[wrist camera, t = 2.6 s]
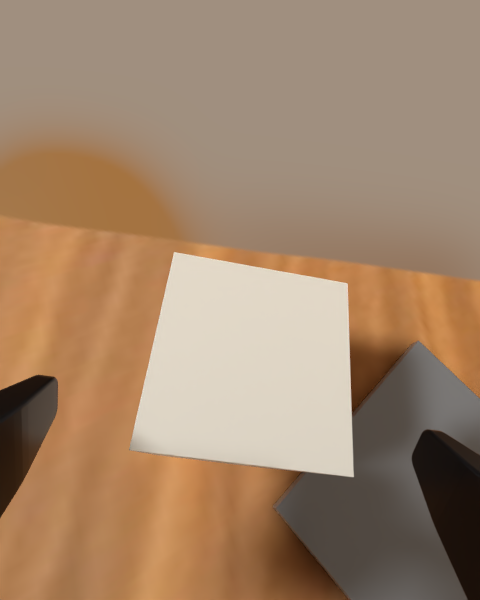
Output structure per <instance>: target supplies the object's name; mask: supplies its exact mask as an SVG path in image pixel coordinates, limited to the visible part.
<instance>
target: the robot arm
mask: <svg viewBox="0 0 480 600" xmlns="http://www.w3.org/2000/svg"><path fill="white" fill-rule="evenodd" d="M57 406H58V381H57V379H56V378H55V377H52V376H44V375H36V376H33V377H31V378H28V379H26V380H24V381H21V382H19V383H16V384H14V385H12V386H9V387H7V388H5V389H2V390H0V517H1V516H2V514H3V513H4V511H5V510H6V508H7V506H8V505H9V503H10V502H11V500H12V498H13V497H14V495H15V494H16V492H17V490H18V489H19V487H20V485H21V484H22V482H23V480H24V478H25V476H26V475H27V473H28V471H29V469H30V467H31V465H32V463H33V461H34V459H35V457H36V455H37V452H38V450H39V448H40V446H41V444H42V442H43V440H44V438H45V436H46V434H47V432H48V430H49V428H50V426H51V424H52V422H53V420H54V418H55V415H56V412H57ZM412 465H413V468H414V470H415V473H416V476H417V479H418V482H419V485H420V487H421V490H422V493H423V496H424V499H425V502H426V504H427V507H428V510H429V513H430V516H431V518H432V521H433V524H434V526H435V529H436V531H437V533H438V536H439V538H440V540H441V542H442V545H443V547H444V549H445V551H446V553H447V556H448V558H449V560H450V562H451V565H452V567H453V569H454V571H455V573H456V576H457V578H458V580H459V582H460V584H461V587H462V589H463V591H464V593H465V596H466V598H467V600H480V455H479V454H477V453H476V452H474V451H473V450H471V449H469V448H468V447H466V446H465V445H463V444H462V443H460V442H458V441H457V440H455V439H454V438H452V437H451V436H449V435H447V434H446V433H444V432H442V431H438V430H431V429H426V430H424V431H423V432H422V433H421V435H420V438H419V440H418V442H417V444H416V446H415V448H414V451H413V453H412Z"/></svg>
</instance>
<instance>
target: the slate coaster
mask: <svg viewBox="0 0 480 600" xmlns="http://www.w3.org/2000/svg"><path fill="white" fill-rule="evenodd" d="M426 429H431V430H438V431H442V432H444V433H446V434H447V435H449V436H451V437H452V438H454V439H455V440H457V441H458V442H460V443H462V444H463V445H465V446H466V447H468V448H469V449H471V450H473V451H474V452H476V453H477V454H479V455H480V399H479V398H478V397H477V396H476V395H475V394H474V393H473V392H472V391H471V390H470V389H469V388H468V387H467V386H466V385H465V384H464V383H463V382H461V381H460V380H459V379H458V378H457V377H456V376H455V375H454V374H453V373H452V372H451V371H450V370H449V369H448V368H447V367H446V366H445V365H444V364H443V363H441V362H440V361H439V360H438V359H437V358H436V357H435V356H434V355H433V354H432V353H431V352H430V351H429V350H428V349H427V348H426V347H425V346H424V345H422V344H421V343H420V342H419V341H417V342H415V343H413V344H411V346H410V347H409V348H408V349H407V350H406V351H405V353H404V354H403V355H402V356H401V357H400V358H399V360H398V361H397V362H396V363H395V364H394V365H393V367H392V368H391V369H390V370H389V371H388V372H387V374H386V375H385V376H384V377H383V378H382V379H381V381H380V382H379V383H378V384H377V385H376V386H375V388H374V389H373V390H372V391H371V392H370V393H369V395H368V396H367V397H366V398H365V399H364V400H363V402H362V403H361V404H360V405H359V406H358V407H357V409H356V410H355V411H354V412H353V413H352V439H353V471H354V477H347V476H338V475H328V474H318V473H309V472H302V473H301V474H300V475H299V476H298V477H297V479H296V480H295V481H294V482H293V483H292V484H291V486H290V487H289V488H288V489H287V490H286V491H285V493H284V494H283V495H282V496H281V497H280V498H279V500H278V501H277V502H276V503H275V504H274V505H273V508H274V509H275V510H276V512H277V513H278V514H279V515H280V516H281V518H282V519H283V520H284V521H285V522H286V524H287V525H288V526H289V527H290V529H291V530H292V531H293V532H294V533H295V535H296V536H297V537H298V538H299V539H300V541H301V542H302V543H303V544H304V546H305V547H306V548H307V549H308V550H309V552H310V553H311V554H312V555H313V556H314V558H315V559H316V560H317V561H318V563H319V564H320V565H321V566H322V567H323V569H324V570H325V571H326V572H327V574H328V575H329V576H330V577H331V578H332V580H333V581H334V582H335V583H336V584H337V586H338V587H339V588H340V589H341V591H342V592H343V593H344V594H345V595H346V597H347V598H348V599H349V600H467V598H466V596H465V593H464V591H463V589H462V587H461V584H460V582H459V580H458V578H457V576H456V573H455V571H454V569H453V567H452V565H451V562H450V560H449V558H448V556H447V553H446V551H445V549H444V547H443V545H442V542H441V540H440V538H439V536H438V533H437V531H436V529H435V526H434V524H433V521H432V518H431V516H430V513H429V510H428V507H427V504H426V502H425V499H424V496H423V493H422V490H421V487H420V485H419V482H418V479H417V476H416V473H415V470H414V468H413V465H412V453H413V451H414V448H415V446H416V444H417V442H418V440H419V438H420V435H421V433H422V432H423V431H424V430H426Z"/></svg>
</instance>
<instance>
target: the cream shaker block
mask: <svg viewBox="0 0 480 600" xmlns="http://www.w3.org/2000/svg"><path fill="white" fill-rule="evenodd" d="M129 450H132V451H137V452H143V453H148V454H153V455H161V456H169V457H177V458H186V459H194V460H202V461H211V462H219V463H227V464H236V465H244V466H252V467H260V468H270V469H280V470H289V471H299V472H309V473H318V474H328V475H338V476H347V477H354V471H353V439H352V408H351V377H350V345H349V314H348V283H342V282H337V281H331V280H326V279H320V278H315V277H309V276H303V275H298V274H292V273H287V272H281V271H276V270H270V269H265V268H259V267H254V266H248V265H242V264H237V263H231V262H226V261H220V260H215V259H209V258H204V257H198V256H193V255H187V254H181V253H176V252H174V255H173V260H172V264H171V268H170V273H169V277H168V282H167V286H166V290H165V295H164V299H163V303H162V308H161V312H160V317H159V321H158V325H157V330H156V334H155V339H154V343H153V347H152V352H151V356H150V361H149V365H148V369H147V374H146V378H145V383H144V387H143V391H142V396H141V400H140V404H139V409H138V413H137V418H136V422H135V426H134V431H133V435H132V440H131V444H130V448H129Z"/></svg>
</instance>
